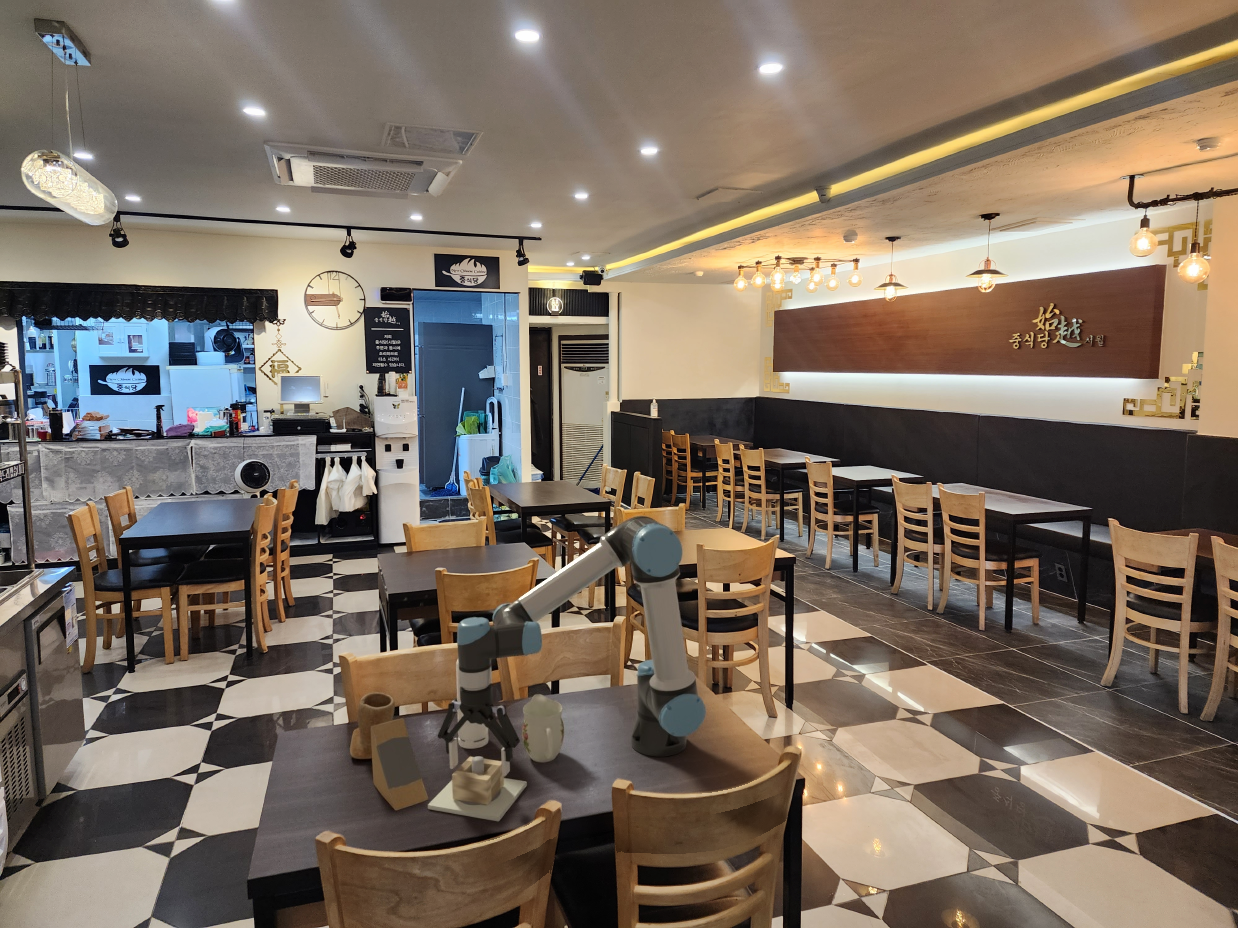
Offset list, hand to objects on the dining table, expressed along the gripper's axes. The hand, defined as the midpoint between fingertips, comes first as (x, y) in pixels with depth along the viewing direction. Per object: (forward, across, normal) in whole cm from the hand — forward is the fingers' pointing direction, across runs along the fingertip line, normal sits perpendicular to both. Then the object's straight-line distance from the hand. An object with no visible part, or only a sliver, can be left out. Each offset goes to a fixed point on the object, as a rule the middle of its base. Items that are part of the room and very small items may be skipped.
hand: (479, 769), depth 187 cm
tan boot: (+7, +38, -14) cm, 41 cm away
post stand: (+7, 0, 0) cm, 7 cm away
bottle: (+7, +14, -25) cm, 29 cm away
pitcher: (+7, -8, -22) cm, 24 cm away
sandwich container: (+7, +20, +3) cm, 21 cm away
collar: (+5, 0, 0) cm, 6 cm away
